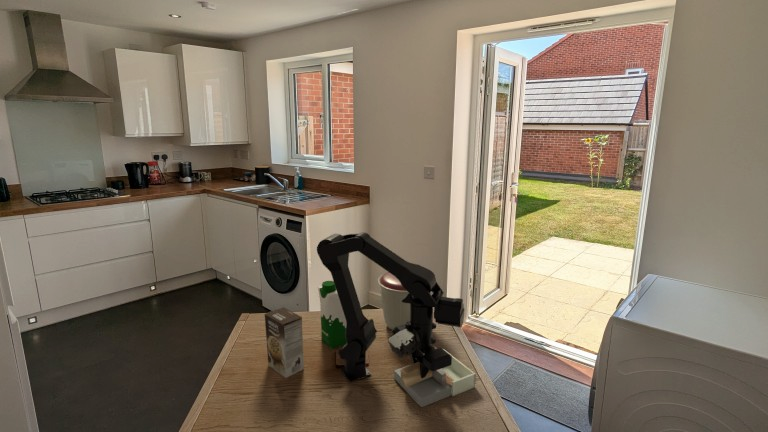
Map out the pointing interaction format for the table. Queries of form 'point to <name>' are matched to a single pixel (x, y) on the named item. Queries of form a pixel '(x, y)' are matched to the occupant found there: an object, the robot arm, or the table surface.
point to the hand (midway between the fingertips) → (419, 374)
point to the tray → (460, 376)
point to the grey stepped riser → (425, 389)
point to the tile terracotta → (449, 379)
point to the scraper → (412, 375)
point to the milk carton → (331, 316)
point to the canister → (393, 301)
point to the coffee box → (284, 341)
